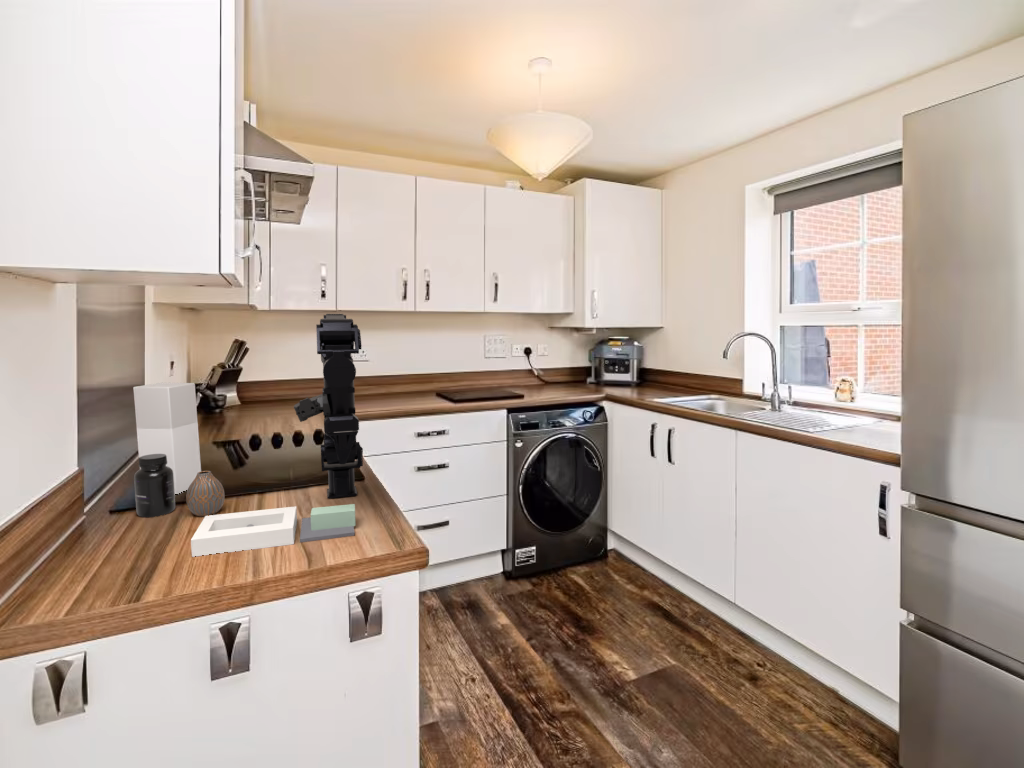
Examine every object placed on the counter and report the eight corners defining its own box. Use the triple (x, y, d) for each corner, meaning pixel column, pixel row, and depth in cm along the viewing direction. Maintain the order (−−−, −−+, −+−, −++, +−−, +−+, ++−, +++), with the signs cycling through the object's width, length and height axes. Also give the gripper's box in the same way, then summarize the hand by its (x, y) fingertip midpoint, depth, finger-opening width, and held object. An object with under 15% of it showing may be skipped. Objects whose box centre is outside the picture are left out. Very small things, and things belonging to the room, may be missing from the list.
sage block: (312, 522, 105) (311, 508, 104) (355, 518, 107) (354, 503, 107) (311, 530, 101) (310, 515, 101) (355, 525, 103) (355, 510, 103)
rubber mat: (302, 521, 107) (302, 518, 107) (351, 515, 110) (351, 512, 110) (299, 542, 97) (299, 539, 97) (354, 535, 100) (354, 532, 100)
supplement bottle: (131, 519, 108) (126, 461, 107) (144, 508, 115) (139, 453, 113) (169, 516, 110) (165, 459, 109) (180, 505, 117) (176, 451, 115)
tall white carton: (141, 494, 124) (132, 386, 121) (169, 482, 133) (161, 382, 130) (176, 495, 123) (168, 387, 120) (202, 484, 132) (195, 382, 129)
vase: (191, 509, 114) (188, 469, 113) (227, 505, 116) (225, 466, 115) (184, 521, 108) (181, 478, 106) (222, 516, 110) (220, 474, 109)
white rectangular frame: (206, 531, 102) (205, 515, 102) (297, 520, 107) (296, 506, 107) (192, 556, 91) (190, 539, 91) (293, 544, 96) (292, 528, 96)
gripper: (297, 378, 113) (301, 451, 115) (292, 389, 96) (296, 474, 98) (352, 376, 117) (355, 447, 119) (357, 386, 99) (360, 468, 101)
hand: (341, 458), depth 109 cm, fingers open, 9 cm apart
